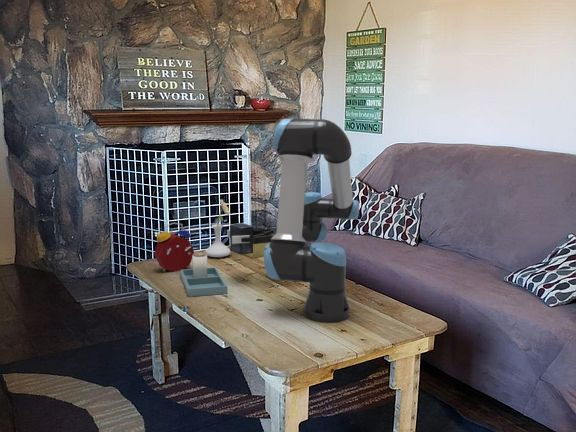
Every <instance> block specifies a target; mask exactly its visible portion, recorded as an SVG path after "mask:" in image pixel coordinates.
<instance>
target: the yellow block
mask: <svg viewBox="0 0 576 432" xmlns="http://www.w3.org/2000/svg"><path fill="white" fill-rule="evenodd" d="M269 243H270V244H271V242H268V243H260V244H253V253H250V254H245V255H244V256H246V257H250V258H252V259H256V258H260V257H264V251H265V246H266V245H267V244H269Z"/></svg>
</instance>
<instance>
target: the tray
mask: <svg viewBox="0 0 576 432" xmlns="http://www.w3.org/2000/svg"><path fill="white" fill-rule="evenodd" d="M179 272H180V277H181V280H182V283H183V286H184V287H185V288H184V289H185V291H186V293H187V295H188V297H187V298H197V297H208V296H211V297H212V296H223V295H228V293H229V292H228V284H227V283H226V282H225V279H224V278H223V277H222V275H221V273H220V272H219V269H218V268H217V267H216V266H214V267H207V277H200V278H193V268H187V269H186V268H184V269H183V270H180V271H179Z"/></svg>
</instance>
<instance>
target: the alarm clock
mask: <svg viewBox="0 0 576 432" xmlns="http://www.w3.org/2000/svg"><path fill="white" fill-rule="evenodd" d="M174 224H175V225H179V226H181V229H179V230H178V231H176V234H174V233H173V230H171V229H170V231H169V232H168V231H166V227H169V226H172V225H174ZM183 227H184V226H183V223H178V222H171V223H169V224H166V225H165V226H164V227H163V228H164V229H163V230H164V231H160V233H159V234H157V237H156V242H157V244H156V247H155V250H154V253H153V255H154V256H155V259H156V261H157V262H158V264H159V266H160V267H161V268H163V269H162V272H166V270H167V271H170V272H181V271H180V270H183V269H186V268H187V269H188V267H189V266H191V262H192V261H193V260H192V255H193V253H195V250H194V248H193V246H192V244H191V242H190V240H189V239H188V238H190V239H191V233H190V232H188V230H187V229H186V228H183ZM177 234H178V235H177Z"/></svg>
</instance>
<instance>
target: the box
mask: <svg viewBox="0 0 576 432" xmlns="http://www.w3.org/2000/svg"><path fill="white" fill-rule="evenodd" d="M253 228H254V225H250V224H247V223H243V222H239V223H231V224H229V230H230V237H229V245H230V246H229V249H230V251H231V253H234V254H235V253H236V254H237V255H241V256H246V255H245V254H250V253H253V243H236V244H232V236H244V235H249V236H250V234H252V235H253Z"/></svg>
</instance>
